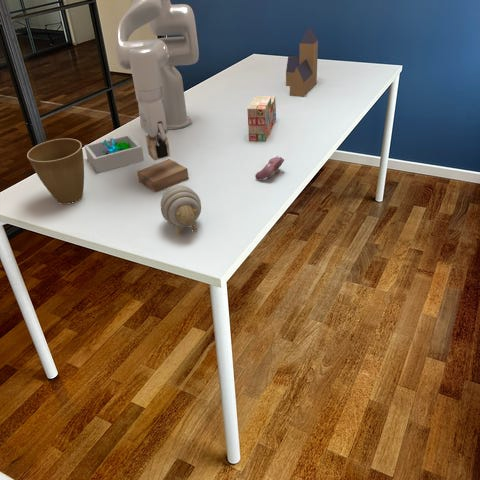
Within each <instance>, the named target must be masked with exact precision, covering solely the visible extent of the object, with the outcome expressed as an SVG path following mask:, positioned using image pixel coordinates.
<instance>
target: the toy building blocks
mask: <svg viewBox="0 0 480 480" xmlns="http://www.w3.org/2000/svg"><path fill="white" fill-rule="evenodd" d="M318 50H319V40H318V38H317V37H316V35H315V33H314V31H313V30H312V28H311V27H310V26H308V28H307V29H306V31H305V33H304V35H303V36H302V39H301V40H300V42H299V56H297V55H287V62H286V69H285V86H286V87H289V96H290V97H299V98H304V97H306V95H307V94H308V93H309V92H310V91H311V90H312V89H313V88H315V86H316V85H317V82H318Z"/></svg>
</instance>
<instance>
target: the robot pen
mask: <svg viewBox="0 0 480 480" xmlns="http://www.w3.org/2000/svg"><path fill="white" fill-rule="evenodd" d="M112 138H113V141H114V144H115V143H121V142H126V143H127V144H128V145H129V146H130V149H126V150H122V151H119V152H115V153H111V154H107V155H105V154H106V153H107V152H105V153H103V151H107V150H109V148H108V147H107V146H106V145H105V144H104V145H103V143H105V142H104V140H101V141H98V142H92V143H90V144H85V145H84V146H83V147H84V151H85V153H86V154H85V155H86V159H87V161H88V162H89V163H90V165H91V166H92V167H93V169H94V170H95V171H96V173H97V174H100V173H104V172H107V171H111V170H115V169H118V168H121V167H126V166H129V165H133V164H137V163H140V162H143V161H145V157H144V152H143V151H144V150H143V147H142V145H141V144H140V143H138V141H137V140H136V139H135V138H133V137H132V135H130V134H125V135H120V136H116V137H112ZM112 138H109V139H105V140H106V143H107V144H108V145H110V146H112V147H113V145H112V140H111V139H112Z"/></svg>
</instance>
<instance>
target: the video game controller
mask: <svg viewBox="0 0 480 480" xmlns="http://www.w3.org/2000/svg"><path fill="white" fill-rule="evenodd" d="M284 161H285V159H284V158H283V157H281V156H279V155H276V157H272V158H270V159H269V160H268V162H267V163H266V165H265V166H264V167H263V168H262V169H261V170H260V171H257V172H256V174H255V175H254V176H255V177H254V178H255V179H256V180H257V181H262V180H265V179H266V178H268V179H270V178H271V177H272V176H274V175H275V174H276V173H278V171H279V169H280V167H281V166H282V165H283V163H284Z"/></svg>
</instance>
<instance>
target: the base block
mask: <svg viewBox="0 0 480 480" xmlns="http://www.w3.org/2000/svg"><path fill="white" fill-rule="evenodd" d="M136 175H137V179H138V183H140V184H141V185H142V186H144V187H146V188H148V189H150V190H151V191H153V192H154V193H156V194H157V193H160V192H161V191H165V190H167V189H168V188H169V187H171V186H174V185H179V184H181V183H182V182H185V181H187V180H189V171H188V168H187V167H185V166H183V165H182V164H179V163H178V162H176V161H174V160H172V159H170V158H168V159H165V160H163V161H160V162H158V163H155V164H153V165H152V164H151V165H150V166H147V167H145V168H141V169H140V170H137V171H136Z"/></svg>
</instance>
